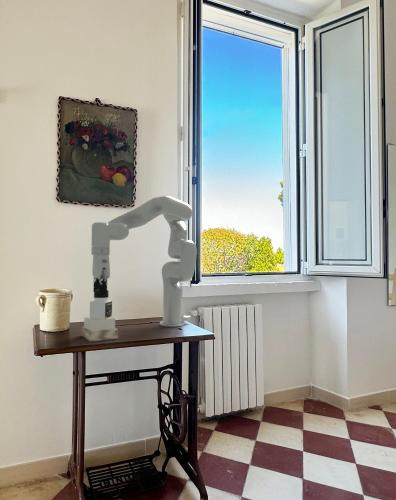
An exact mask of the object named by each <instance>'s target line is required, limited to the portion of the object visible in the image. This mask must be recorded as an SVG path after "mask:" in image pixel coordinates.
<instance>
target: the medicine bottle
mask: <svg viewBox="0 0 396 500" xmlns="http://www.w3.org/2000/svg"><path fill="white" fill-rule="evenodd" d="M109 293H110V292H109V290H108V289H107V294H99V289H98V290H95V291H94V292H93V300H91V301H89V316H90V319H107V318H110V317H113V300H112V299H111V300H110V299H109V296H110V295H109Z"/></svg>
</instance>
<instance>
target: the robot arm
mask: <svg viewBox="0 0 396 500" xmlns="http://www.w3.org/2000/svg"><path fill="white" fill-rule="evenodd" d="M161 215H162V216H163V217H164V219H165V221H166V222H167V224H168V225H169V228H170V233H169V240H168V241H169V243H168V248H167V254H168V256H169V257H170V259H174V260H175V259H176V260H179V261H173V260H172V261H167V262H166V263H164V264H163V265H162V268H161V277H162V283H163V284H162V285H163V290H162V291H163V298H162V301H163V302H162V303H163V304H162V320H161V321H160V322H159V325H160V326H162V327H166V328H167V327H168V328H169V327H170V328H173V327H176V328H177V327H182V326H185V325H186V322H185V321H189V320H191V319H192V318H191V316H190V315H184V314H183V286H182V283H181V282H183V283H184V282H189V281H190V280H191V279H193V276H194V273H195V267H196V261H197V255H198V248H197V245H196V244H195V242H193V240H189V239H188V228H187V225H186V223H185V222H187V221H189V220H191V218H192V216H193V209H192V207H191V206H190V204H188V203H186V202H185V201H181V200H179V199H176V198H174V197H173V196H167V195H164V196H163V195H162V196H157V197H153V198H151V199H149V200H148V201H147V200H146V202H145V203H142V204H141V205H139V206H138V207H135V208H134V209H132V210H129V211H127V212H125V213H124V214H121V215H118V216H117V217H114V218H113V219H111V220H109V221H108V222H100V221H99V222H97V221H96V222H93V223H92V224H91V249H90V250H91V255H90V256H92V255H93V256H92V269H91V270H92V277H93V288H92V289H93V290H92V291H93V293H94V291H95V290H98V289H99V294H107V290H108V279H110V278H111V277H110V276H111V269H110V267H111V265H110V252H111V251H110V250H111V248H110V247H111V245H110V244H111V241H122V240H125V239H126V238H127V237H128V236H129V234H130V230H131V229H135V228H140V227H142V226H145V225H146V224H148V223H149V222H152V220H154V219H156V218H157V217H158V216H161Z"/></svg>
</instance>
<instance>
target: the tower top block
mask: <svg viewBox="0 0 396 500" xmlns="http://www.w3.org/2000/svg"><path fill="white" fill-rule="evenodd" d="M83 327H85V328H86V329H88V330H90V331H101V330H110V329H115V328H116V318H115V317H113V316H112V317H110V318H107V319H90V315H88V316H84V319H83Z"/></svg>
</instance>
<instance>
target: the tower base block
mask: <svg viewBox="0 0 396 500" xmlns="http://www.w3.org/2000/svg"><path fill="white" fill-rule="evenodd" d="M81 337H83V338H85V340H87V341H88V342H97V341H106V340H114V339H115V340H116V339H119V329H118V328H116V327H115V329H110V330H101V331H90V330H88V329H86V328H85V327H84V326H82V327H81Z"/></svg>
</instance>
